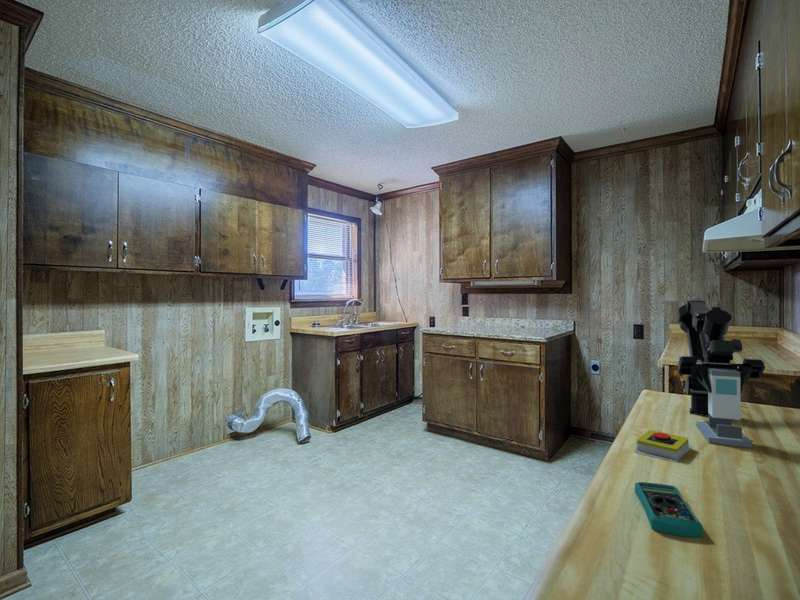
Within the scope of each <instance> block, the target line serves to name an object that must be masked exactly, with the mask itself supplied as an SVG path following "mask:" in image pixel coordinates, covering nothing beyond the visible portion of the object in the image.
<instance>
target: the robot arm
mask: <svg viewBox="0 0 800 600" xmlns="http://www.w3.org/2000/svg"><path fill="white" fill-rule="evenodd" d="M710 308H711V309H710ZM710 308H709V307H708V306H707V305H706V302H705V300H702V299H697V300H695V299H692V300H691V299H690V300H686V302H685V304H684V305H682V306H680V307H679V308H678V310H677V314H676V321H677V323H679V327H680V328H679V329H681V330H682V332H684V333H685V334H686V339H687V345H688V349H689V351H688V352H689V356H686V355H681V356H680V357H679V359H678V363H677V371H678V374H679V375H681V376H686V379H685V383H684V391H685V393H686V394H687V395H690V408H689V412H690V413H689V412H688V413H689V414H691V413H697V414H696V415H699V414H702V415H701V416H706V415H708V416H707V417H709V415H710V414H709V413H708V392H709V393H711V392H712V390H711V385H710V382H709V379H708V368H715V369H735V370H737V371H738V372H740V396H741V395H742V392H743V388H744V382H745V381H749V380H750V379H754V380H755V379H756V380H757V379H758V380H759V379H761V378H762V375H763V373H764V372H765V369H766V365H765V362H764V361H763V360H762V359H760V358H759V359H758V358H743V361H742V363H732V361H734V354H735V353H741V352H742V351H743V343H742V340H741V339H734V338H733V339H731V340H726V338H725V336H727V334H728V331H729V327H730V324H731V321H732V314H730V313H729V312H728V311H726V310H723V309H721V307H720V306H712V307H710Z"/></svg>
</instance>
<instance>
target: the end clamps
mask: <svg viewBox="0 0 800 600" xmlns="http://www.w3.org/2000/svg"><path fill="white" fill-rule="evenodd" d="M708 421H709V427H716V428H717V436H718V437H726V438H735V439H742V433H743V427H742V426H741V425H735V426H733V425H734V424H733V419H724V418H714V417H712V416H711V415H709V416H708Z"/></svg>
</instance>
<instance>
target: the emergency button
mask: <svg viewBox="0 0 800 600" xmlns="http://www.w3.org/2000/svg"><path fill="white" fill-rule="evenodd" d="M691 448H692V445H691V444H689V438H688V437H687V436H682V435H677V434H673V433H667V432H662V431H658V430H653V429H652V430H648V431H647V432H645V433H644V434H642V435H641V436H639V437H637V439H636V446H635V449H634V450H633V452H634V453H635V454H638V453H639V454H638V455H644V456H648V457H651V458H655V459H659V458H660V460H663V461H668V462H672V463H678V462H679V460H681V459H682V458H683V457H684V455H686V453H687V452H688V451H690V449H691Z"/></svg>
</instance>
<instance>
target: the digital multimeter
mask: <svg viewBox="0 0 800 600" xmlns="http://www.w3.org/2000/svg"><path fill="white" fill-rule="evenodd" d="M634 493H635V494H636V497H637V499H638V500H639V502H640V504H641V506H642V507H643V510H644V512H645V515H646V518H647V520H648V523H649V525H650V528H651V529H652V530H653V531H655V532H656V531H657V532H660V533H664V534H668V535H674V536H680V537H681V536H682V537H689V538H690V537H691V538H703V536H704V531H703V529H704V528H703V524H702V523H701V522H700V521H699V519H698V518H697V517H696V515H695V514H694V513H693V511H692V510H691V508H689V506H688V504H687V503H686V501H685V500H684V498H683V496H682V494H681V493H680V490H679V489H678V488H677V487H676V486H675V485H669V484H663V483H655V482H646V481H645V482H644V481H638V482H635V483H634Z"/></svg>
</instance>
